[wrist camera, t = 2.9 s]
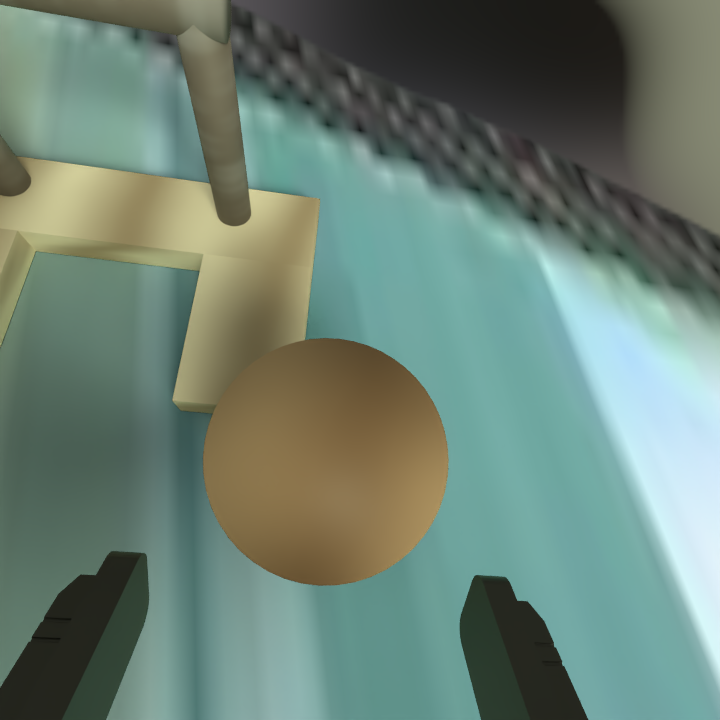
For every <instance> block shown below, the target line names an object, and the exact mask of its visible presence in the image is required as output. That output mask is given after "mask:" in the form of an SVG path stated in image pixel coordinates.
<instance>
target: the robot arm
mask: <svg viewBox="0 0 720 720" xmlns="http://www.w3.org/2000/svg"><path fill="white" fill-rule="evenodd" d="M148 605H149V587H148V569H147V556H146V554H145V553H134V552H118V551H112V552H110V553H109V554H108V555H107V557H106V558H105V560H104V562H103V564H102V566H101V567H100V569H99V571H98V573H97V574H96V575H80V576H78V577H77V578H76V579H75V580H74V581H73V582H72V583H70V584H69V585H68V586H67V587H66V588H65V589H64V590H62V591H61V592H60V593H59V594H58V596H57V597H56V599H55V600H54V602H53V604H52V605H51V607H50V609H49V610H48V612H47V613H46V615H45V617H44V620H43V622H41V623H40V625H39V626H38V628H37V630H36V631H35V633H34V634H33V636H32V640H31V641H30V642H28V644H27V646H26V647H25V649H24V650H23V652H22V654H21V655H20V657H19V659H18V660H17V662H16V663H15V665H14V667H13V668H12V670H11V671H10V673H9V675H8V676H7V678H6V679H5V681H4V683H3V684H2V686H1V688H0V720H106V718H107V716H108V713H109V711H110V708H111V706H112V703H113V701H114V698H115V696H116V693H117V691H118V688H119V686H120V683H121V681H122V678H123V676H124V673H125V671H126V668H127V666H128V663H129V661H130V658H131V656H132V653H133V651H134V648H135V646H136V643H137V641H138V638H139V636H140V633H141V631H142V628H143V626H144V623H145V619H146V615H147V611H148ZM460 638H461V643H462V648H463V651H464V655H465V659H466V663H467V667H468V671H469V675H470V678H471V682H472V686H473V690H474V694H475V698H476V702H477V705H478V709H479V713H480V717H481V720H588V718H587V716H586V714H585V711H584V709H583V707H582V705H581V703H580V700H579V698H578V696H577V694H576V691H575V689H574V687H573V685H572V682H571V680H570V678H569V676H568V673H567V671H566V669H565V667H564V666H563V665H562V660H561V658H560V656H559V653H558V651H557V649H556V648H555V647H554V642H553V640H552V638H551V635H550V633H549V631H548V629H547V626H546V624H545V622H544V620H543V619H542V618H541V617H540V616H539V614H538V613H537V612H536V611H535V610H534V608H533V607H532V606H531V605H530V604H529V603H528V601H517V599H516V597H515V594H514V592H513V589H512V587H511V584H510V582H509V581H508V579H507V578H506V577H499V576H483V575H476V576H474V578H473V580H472V583H471V586H470V589H469V592H468V595H467V598H466V601H465V604H464V607H463V611H462V614H461V618H460Z"/></svg>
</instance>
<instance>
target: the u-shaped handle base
mask: <svg viewBox="0 0 720 720" xmlns="http://www.w3.org/2000/svg"><path fill="white" fill-rule="evenodd" d="M0 5H5V6H11V7H17V8H23V9H28V10H34V11H40V12H46V13H51V14H57V15H63V16H69V17H75V18H80V19H86V20H92V21H98V22H104V23H109V24H115V25H121V26H127V27H133V28H138V29H144V30H150V31H156V32H161V33H167V34H173V35H176V36H177V41H178V45H179V49H180V54H181V58H182V62H183V67H184V71H185V76H186V80H187V84H188V89H189V93H190V97H191V102H192V106H193V111H194V115H195V119H196V124H197V128H198V133H199V137H200V141H201V146H202V150H203V154H204V159H205V163H206V168H207V172H208V176H209V181H210V183H203V182H196V181H189V180H182V179H175V178H168V177H161V176H154V175H147V174H140V173H133V172H125V171H118V170H111V169H104V168H97V167H90V166H83V165H76V164H69V163H62V162H55V161H47V160H40V159H33V158H26V157H19V156H15V154H14V153H13V152H12V150H11V149H10V147H9V146H8V145H7V143H6V142H5V140H4V139H3V138H2V136H1V135H0V347H1V344H2V342H3V339H4V336H5V334H6V331H7V328H8V325H9V323H10V320H11V317H12V315H13V312H14V309H15V306H16V304H17V301H18V298H19V295H20V293H21V290H22V287H23V285H24V282H25V279H26V276H27V274H28V271H29V268H30V266H31V263H32V260H33V257H34V255H35V252H36V251H39V252H47V253H55V254H63V255H72V256H80V257H88V258H96V259H105V260H113V261H121V262H129V263H137V264H146V265H154V266H162V267H170V268H179V269H187V270H195V271H200V273H199V277H198V282H197V287H196V291H195V296H194V301H193V305H192V310H191V315H190V320H189V324H188V329H187V334H186V338H185V343H184V348H183V352H182V357H181V362H180V366H179V371H178V376H177V381H176V385H175V390H174V395H173V399H172V401H173V402H174V403H175V404H176V406H177V407H178V408H179V409H180V410H181V411H191V412H202V413H213V412H214V410H215V408H216V406H217V404H218V402H219V401H220V399H221V397H222V395H223V394H224V392H225V391H226V390H227V388H228V387H229V386H230V384H231V383H232V382H233V381H234V380H235V379H236V377H237V376H238V375H239V374H240V373H241V372H242V371H243V370H244V369H246V368H247V367H248V366H249V365H251V364H252V363H253V362H254V361H256V360H257V359H259V358H261V357H262V356H264V355H265V354H267V353H269V352H271V351H273V350H275V349H277V348H280V347H282V346H285V345H288V344H291V343H294V342H299V341H304V340H305V335H306V326H307V317H308V308H309V299H310V290H311V281H312V272H313V263H314V254H315V245H316V236H317V227H318V218H319V206H320V199H317V198H310V197H303V196H296V195H288V194H281V193H274V192H267V191H260V190H253V189H248V181H247V173H246V165H245V157H244V148H243V140H242V132H241V124H240V116H239V107H238V99H237V91H236V83H235V75H234V66H233V58H232V50H231V42H230V31H231V0H0Z"/></svg>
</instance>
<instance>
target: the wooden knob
mask: <svg viewBox="0 0 720 720" xmlns="http://www.w3.org/2000/svg"><path fill="white" fill-rule="evenodd" d="M203 474H204V480H205V486H206V492H207V495H208V498H209V501H210V505H211V507H212V510H213V512H214V514H215V516H216V518H217V520H218V522H219V524H220V526H221V527H222V529H223V530H224V532H225V533H226V535H227V536H228V538H229V539H230V540H231V541H232V542H233V543H234V544H235V546H236V547H237V548H238V549H239V550H240V551H241V552H242V553H243V554H244V555H246V556H247V557H248V558H249V559H250V560H252V561H253V562H254V563H256V564H257V565H259V566H260V567H262V568H264V569H265V570H267V571H268V572H271V573H273V574H275V575H278V576H280V577H282V578H284V579H288V580H291V581H295V582H299V583H303V584H311V585H341V584H347V583H353V582H356V581H360V580H363V579H366V578H369V577H372V576H374V575H376V574H378V573H380V572H382V571H384V570H386V569H388V568H389V567H391V566H392V565H394V564H395V563H397V562H398V561H400V560H401V559H402V558H403V557H404V556H405V555H407V554H408V553H409V552H410V551H411V550H412V549H413V548H414V547H415V546H416V545H417V543H418V542H419V541H420V540H421V539H422V538H423V536H424V535H425V533H426V532H427V530H428V529H429V527H430V526H431V524H432V523H433V521H434V519H435V516H436V514H437V512H438V510H439V508H440V505H441V502H442V499H443V496H444V493H445V488H446V482H447V477H448V448H447V441H446V436H445V431H444V427H443V424H442V421H441V418H440V415H439V413H438V411H437V409H436V407H435V405H434V403H433V401H432V399H431V398H430V396H429V395H428V393H427V391H426V390H425V388H424V387H423V386H422V385H421V384H420V382H419V381H418V380H417V379H416V377H414V376H413V375H412V374H411V373H410V372H409V371H408V370H407V369H406V368H405V367H404V366H402V365H401V364H400V363H399V362H397V361H396V360H395V359H393V358H391V357H390V356H388V355H386V354H385V353H383V352H381V351H379V350H377V349H374V348H372V347H370V346H367V345H364V344H361V343H357V342H354V341H348V340H342V339H330V338H321V339H309V340H304V341H299V342H294V343H291V344H288V345H285V346H282V347H280V348H277V349H275V350H273V351H271V352H269V353H267V354H265V355H264V356H262V357H261V358H259V359H257V360H256V361H254V362H253V363H252V364H251V365H249V366H248V367H247V368H246V369H244V370H243V371H242V372H241V373H240V374H239V375H238V376H237V377H236V379H235V380H234V381H233V382H232V383H231V384H230V386H229V387H228V388H227V390H226V391H225V392H224V394H223V395H222V397H221V399H220V401H219V402H218V404H217V406H216V408H215V410H214V412H213V415H212V417H211V420H210V423H209V426H208V430H207V434H206V438H205V444H204V453H203Z"/></svg>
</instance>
